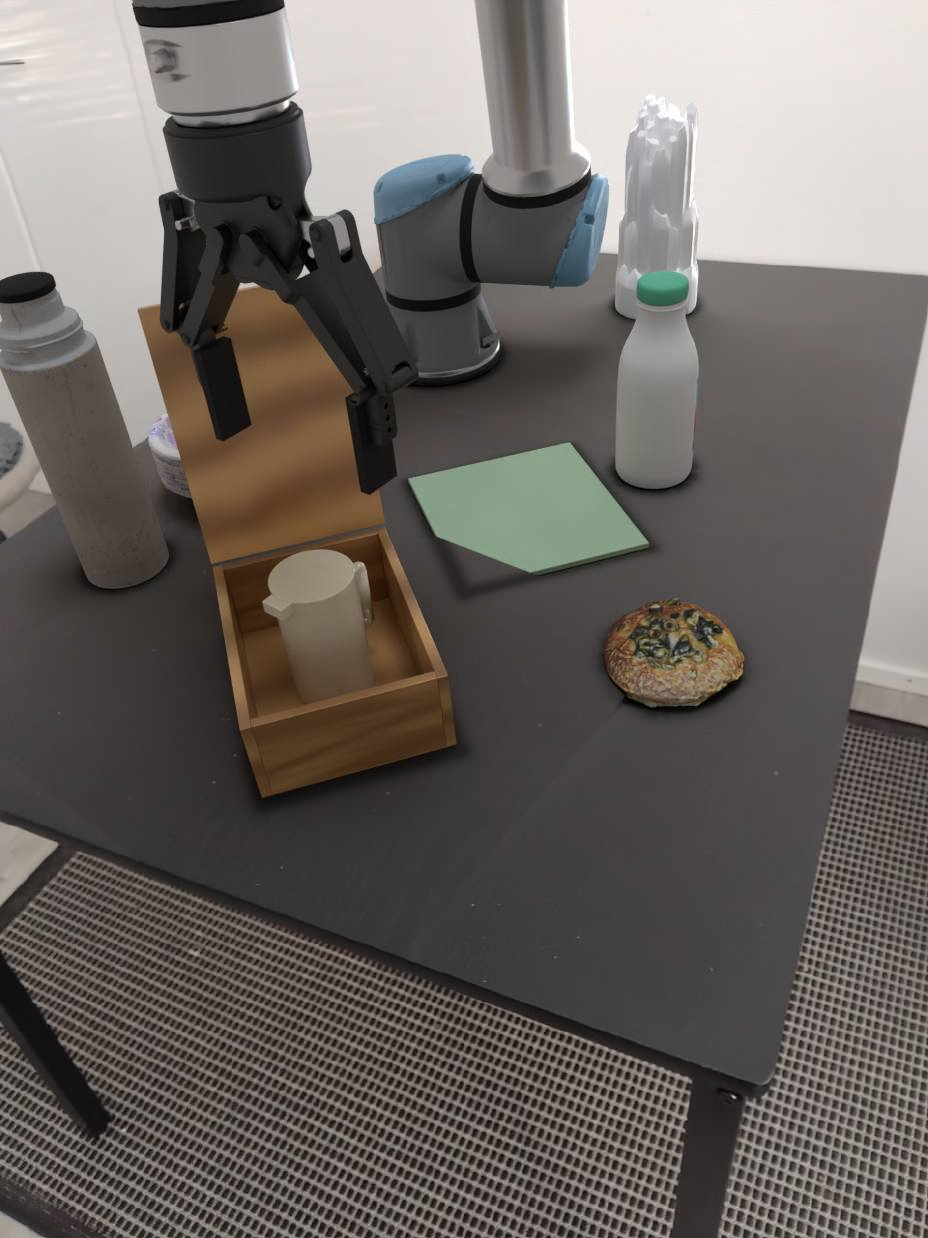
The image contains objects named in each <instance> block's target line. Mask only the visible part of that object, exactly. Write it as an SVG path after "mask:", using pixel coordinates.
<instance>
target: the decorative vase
mask: <svg viewBox="0 0 928 1238" xmlns="http://www.w3.org/2000/svg"><path fill="white" fill-rule="evenodd" d="M698 122H699V121H698V109H697V106H696V104H694V103H693V102H691V103H690V104H688V105H686V106H685V112H684V117H683V116H681V114H680V109H679V108H678V106H676V105H674V104H672V103H669V104H668V110H667V104H666V98H665V97H664V96H661V97H660V98H659V99H656V94H652V93H649V94H648V95H647V96H646V97H645V98H644V102H643V107H641V108H640V109H639V110H638V114H637V117H636V122H635V125H634V128H633V129H632V130H631V131H630V132H629V134H628V141H627V146H626V150H625V167H624V168H625V170H624V171H625V172H624V210H623V211H624V212H623V215H622V217H621V219H619V220H620V221H619V222H618V223H619V224H618V247H617V248H618V249H617V268H616V272H615V295H614V296H615V298H614V300H615V301H614V307H615V310H616V312H617V313H619V315H621V316H624V318H627V319H631V320H636V318H637V315H638V310H639V306H638V305H637V303H636V300H637V282H638V279H639V278H640V277H641V276H643V275H645V274H647V273H650V272H655V271H673V272H678V273H681V274H683V275H685V276H686V277H687V278H688V281H689V291H688V296H687V299H688V302H687V304H686V305H685V308H684V311H685V316H686V315H689V314H690V313H691V314H692V313H693V312H694V310H695V309H696V307H697V301H698V287H699V267H698V262H697V250H698V249H697V248H698V235H699V216H698V215H699V214H698V210H697V206H696V200H695V198H694V184H695V183H694V182H695V168H696V154H697V153H696V152H697V140H698V125H699V124H698Z"/></svg>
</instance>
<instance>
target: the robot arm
mask: <svg viewBox="0 0 928 1238" xmlns="http://www.w3.org/2000/svg"><path fill="white" fill-rule="evenodd" d="M473 2H474V9H475V17H476V27H477V35H478V41H479V49H480V57H481V66H482V74H483V81H484V89H485V97H486V105H487V106H486V107H487V112H488V113H487V115H488V121H489V129H490V130H489V131H490V138H491V146H492V153H491V154H490V155H489V156H488V157H487V159H486V160H485V161H484V163H483V165H482V168H481V173H476V172H475V168H476V166H475V165H474V163H473V161H472V158H471V157H470V156H468V155H462V154H459V153H451V154H450V153H449V154H440V155H434V156H429V157H424V158H419V159H417V160H413V161H410V162H407V163H404V164H401V165H399V166H396V167H394V168H393V169H390V170H389V171H387V172H385V173H384V174H382V175H381V176H380V177H379V178H378V179H377V181H376V183H375V185H374V187H373V191H372V194H373V208H374V210H373V211H374V218H373V223H374V225H375V229H376V236H377V243H378V250H379V257H380V265H381V271H382V272H381V273H382V278H383V284H384V291H385V297H384V295H383V292H382V291H381V288H380V286H379V284H378V282H377V280H376V278H375V275H374V274H373V272H372V270H371V267H370V265H369V263H368V260H367V259H366V256H365V255H364V253H363V248H362V245H361V240H360V235H359V231H358V227H357V226H358V225H357V222H356V219H355V216H354V214H353V213H352V212H351V211H350V210H349V209H345V208H344V209H340V210H339V211H336V212H334V213H332V214H330V215H314V214H313V212H312V211H311V209H310V206H309V204H308V201H307V198H306V193H305V192H306V186H307V184H308V180H309V178H310V176H311V174H312V170H313V163H312V158H311V152H310V146H309V140H308V134H307V133H308V132H307V129H306V128H307V127H306V122H305V116H304V111H303V109H302V108H301V107H299V105H298V104H297V102H295V101H293V100H291V98H293V97H294V96H295V95H297V93H298V91H299V90H300V82H299V75H298V70H297V64H296V60H295V59H296V58H295V54H294V48H293V41H292V38H291V31H290V26H289V20H288V15H287V9H286V3H285V0H131V7H132V12H133V14H134V19H135V22H136V23H137V26H138V31H139V35H140V40H141V43H142V47H143V51H144V52H143V53H144V57H145V60H146V64H147V68H148V69H147V70H148V73H149V77H150V81H151V85H152V90H153V95H154V97H155V101H156V102H155V103H156V106H157V107H158V108H159V109H160V110H162V111H163V112H164V113H167V114H168V115H171V116H169V117H168V118H167V119H166V120H165V122H164V126H163V127H162V133H163V138H164V142H165V145H166V150H167V154H168V157H169V162H170V166H171V169H172V174H173V179H174V182H175V185H176V188H175V189H174V190H171V191H168V192H165V193H162V194H160V195H159V196H158V199H157V201H158V207H159V213H160V217H161V222H162V227H163V246H162V267H161V282H160V283H161V285H160V303H159V304H160V324H161V326H162V328H163V329H164V331H165V332H167V333H172V332H174V331H175V332H176V333H178V334H179V335H180V338H181V340H182V342H183V344H184V345H185V346H186V347H188V348H190V351H191V355H192V359H193V362H194V366H195V370H196V372H197V377H198V381H199V383H200V385H201V387H202V388H203V391H204V395H205V399H206V402H207V406H208V410H209V414H210V417H211V421H212V425H213V429H214V432H215V436H216V439H218V440H220V441H223V442H224V441H226V440H227V439H229V438H231V437H232V436H234V435H236V434H237V433H239V432H241V431H243V430H244V429H246V428H248V427H249V426H251V425H252V424H251V420H250V415H249V411H248V407H247V403H246V399H245V395H244V390H243V386H242V382H241V378H240V374H239V370H238V365H237V361H236V357H235V353H234V349H233V345H232V340H231V338H229V337H225V336H222V337H220V338H218V339H216V335H218V334H220V333H222V332H224V331H226V330H227V329H228V328H227V327H226V328H222V327H223V326H225V324H224V321H225V319H226V316H227V314H228V312H229V309H230V307H231V304H232V302H233V300H234V297H235V295H236V292H237V290H238V289H240V288H239V287H240V285H241V284H244V285H246V284H252V283H254V284H255V285H256V286H258V285H259V286H260V287H262V288H264V289H268V290H275V292H276V293H277V295H278V296H279V297H280V299H281V300H282V301H283V302H284V303H286V304H291V305H293V306H294V307H295V308H296V310H297V311H298V313H299V314H300V315H301V317H302V318H303V320H304V321H305V322H306V324H307V325H308V327H309V328H310V330H311V331H312V332H313V334H314V335H315V337H316V338H317V340H318V341H319V342H320V344H321V345H322V347H323V348H324V350H325V351H326V352H327V354H328V355H329V357H330V358H331V360H332V361H333V362H334V364H335V365H336V367H337V368H338V370H339V371H340V372H341V374H342V375H343V377H344V378H345V379H346V381H347V382H348V384H349V385H350V387H351V388H352V389H353V391H354V392H353V393H352V394H350V395H349V396H347V397H345V401H346V407H347V413H348V419H349V425H350V431H351V437H352V443H353V449H354V455H355V460H356V466H357V472H358V478H359V484H360V490H361V492H362V493H365V494H368V495H371V494H372V493H374V492H375V491H376V490H378V489H379V490H380V489H382V487H384V486H385V485H386V484H388V483H389V482H391V481H392V480H393V479H395V478H396V477H398V471H397V470H398V469H397V462H396V454H395V447H394V439H396V437H397V435H398V430H399V429H398V423H397V416H396V415H397V414H396V409H395V407H396V406H395V400H394V394H396V393H398V392H399V391H401V390H402V389H404V388H405V387H408V385H416V386H443V385H451V384H456V383H461V382H465V381H467V380H471V379H474V378H476V377H478V376H481V375H483V374H484V373H486V372H488V371H489V370H490V369H492V368H493V367H494V366H496V364H497V363H498V361H499V360H500V356H501V344H500V339H501V334H500V331H497V329H496V327H495V324H494V322H493V319H492V317H491V314H490V312H489V309H488V307H487V304H486V301H485V299H484V297H483V294H482V284H495V285H496V284H497V285H498V284H499V285H515V286H517V285H518V286H536V287H537V286H539V287H548V288H549V289H555V288H559V287H561V288H569V287H570V288H577V287H581V286H583V285H584V284H586V283H587V282H588V281H589V280H590V279H591V278H592V276H593V274H594V271H595V269H596V266H597V263H598V261H599V257H600V253H601V250H602V249H601V248H602V244H603V240H604V235H605V232H606V231H605V230H606V224H607V218H608V211H609V202H610V185H609V180H608V178H607V176H605V175H601V174H599V173H595V174H592V163H591V162H592V161H591V155H590V152H589V151H588V149H586V148H585V146H583V145H582V144H581V143H579V142H578V141H576V139H575V138H576V137H575V124H574V108H573V107H574V106H573V104H574V103H573V88H572V87H573V85H572V71H571V69H572V67H571V53H570V52H571V51H570V36H569V35H570V34H569V17H568V16H569V15H568V0H473ZM304 267H305V268H306V270H307V271H308V273H307V274H304V275H303V276H301V274H302V272H303V270H304ZM300 276H301V277H300ZM297 278H299V279H297ZM295 279H296V280H295ZM182 303H183V306H182V307H180V305H181V304H182ZM179 307H180V308H179ZM365 369H366V370H367V373H368V374H366V372H365Z"/></svg>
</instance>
